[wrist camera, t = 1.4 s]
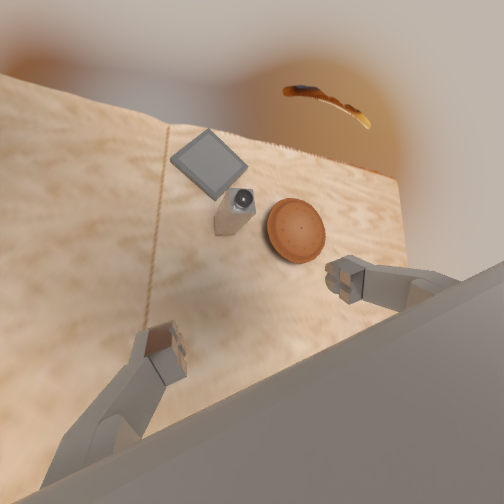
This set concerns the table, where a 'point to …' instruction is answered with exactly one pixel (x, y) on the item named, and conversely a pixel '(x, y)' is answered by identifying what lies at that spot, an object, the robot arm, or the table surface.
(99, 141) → the table surface
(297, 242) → the pie
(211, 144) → the rest tile
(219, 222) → the knob-topped square pillar
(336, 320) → the table surface
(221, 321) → the table surface
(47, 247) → the table surface
